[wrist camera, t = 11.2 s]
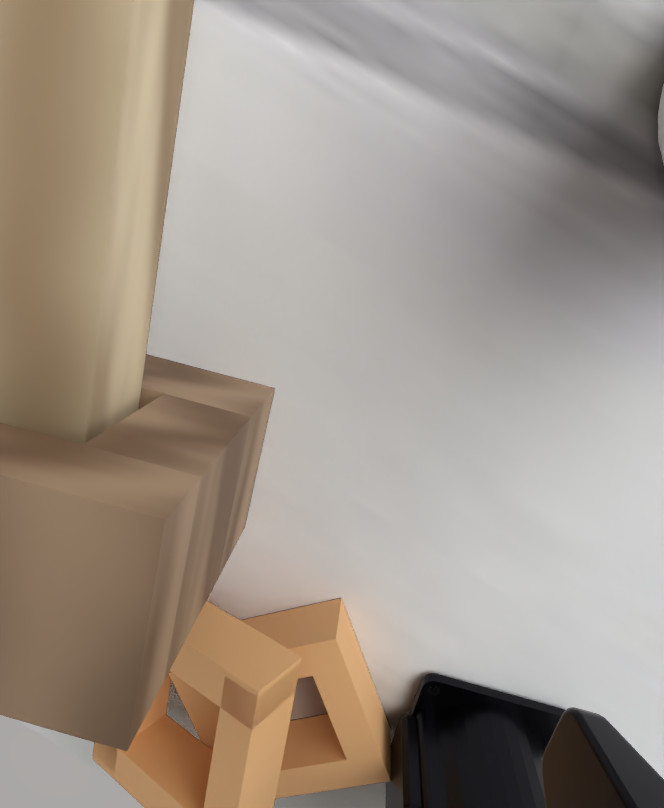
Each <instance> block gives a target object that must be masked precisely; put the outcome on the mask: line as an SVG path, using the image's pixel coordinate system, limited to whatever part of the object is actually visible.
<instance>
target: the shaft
mask: <svg viewBox="0 0 664 808" xmlns="http://www.w3.org/2000/svg"><path fill="white" fill-rule="evenodd" d="M193 5H194V0H0V422H1V423H4V424H8V425H12V426H16V427H19V428H23V429H27V430H30V431H34V432H38V433H41V434H45V435H49V436H52V437H56V438H60V439H64V440H67V441H71V442H75V443H78V444H82V445H84V444H85V443H87V442H89V441H90V440H92V439H93V438H95V437H96V436H98V435H100V434H101V433H103V432H104V431H106V430H107V429H109V428H111V427H112V426H114V425H115V424H117V423H119V422H120V421H122V420H123V419H125V418H126V417H128V416H130V415H131V414H133V413H134V412H136V411H137V410H138V408H139V400H140V393H141V386H142V379H143V371H144V364H145V357H146V349H147V342H148V335H149V327H150V320H151V313H152V305H153V298H154V291H155V283H156V276H157V269H158V261H159V254H160V247H161V240H162V232H163V225H164V218H165V210H166V203H167V196H168V188H169V181H170V174H171V166H172V159H173V152H174V144H175V137H176V130H177V123H178V115H179V108H180V101H181V93H182V86H183V79H184V71H185V64H186V57H187V49H188V42H189V35H190V27H191V20H192V13H193Z"/></svg>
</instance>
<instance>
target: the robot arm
mask: <svg viewBox="0 0 664 808" xmlns="http://www.w3.org/2000/svg"><path fill="white" fill-rule="evenodd" d="M431 686H437V687H436V688H431ZM386 808H664V779H663V778H662V777H661V776H660V775H659V774H658V773H657V772H656V771H655V770H654V769H653V768H652V767H651V766H650V765H649V764H648V763H647V761H646V760H645V759H644V758H643V757H642V756H641V755H640V754H639V753H638V752H637V751H636V750H635V749H634V748H633V747H632V746H631V745H630V744H629V743H628V742H627V741H626V739H625V738H624V737H623V736H622V735H621V734H620V733H619V732H618V731H617V730H616V729H615V728H614V727H613V726H612V725H611V724H610V723H609V722H608V721H607V720H606V719H605V718H604V717H603V716H601V715H599V714H596V713H592V712H589V711H585V710H582V709H578V708H568V709H567V710H564V709H560V708H557V707H553V706H549V705H546V704H542V703H539V702H535V701H532V700H528V699H524V698H521V697H517V696H514V695H510V694H506V693H503V692H499V691H496V690H492V689H489V688H485V687H481V686H478V685H474V684H471V683H467V682H463V681H460V680H456V679H453V678H449V677H446V676H442V675H438V674H427V675H426V676H424V677H423V679H422V680H421V683H420V686H419V689H418V691H417V694H416V697H415V699H414V702H413V705H412V708H411V710H410V713H409V714H405V715H404V716H402V717H401V718H400V721H399V724H398V726H397V729H396V732H395V735H394V737H393V740H392V743H391V781H388V782H386Z"/></svg>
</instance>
